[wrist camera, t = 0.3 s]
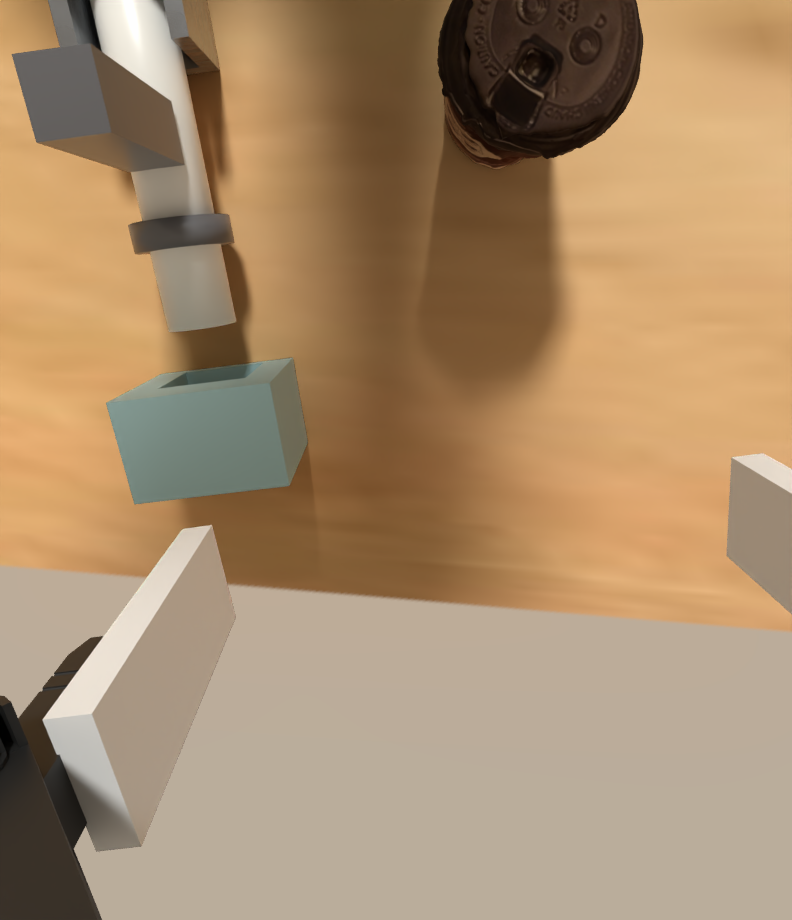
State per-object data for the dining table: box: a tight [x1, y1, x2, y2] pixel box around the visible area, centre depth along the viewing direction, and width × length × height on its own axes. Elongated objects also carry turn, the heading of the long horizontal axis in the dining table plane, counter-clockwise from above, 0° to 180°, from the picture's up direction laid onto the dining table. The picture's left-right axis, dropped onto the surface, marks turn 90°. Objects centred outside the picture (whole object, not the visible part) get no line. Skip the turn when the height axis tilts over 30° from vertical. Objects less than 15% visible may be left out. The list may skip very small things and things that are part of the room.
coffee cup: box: [437, 0, 643, 169], centre depth 30 cm, size 9×8×13 cm
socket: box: [106, 358, 308, 504], centre depth 38 cm, size 6×9×8 cm, turn 97°
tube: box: [12, 0, 236, 332], centre depth 29 cm, size 25×6×14 cm, turn 7°
